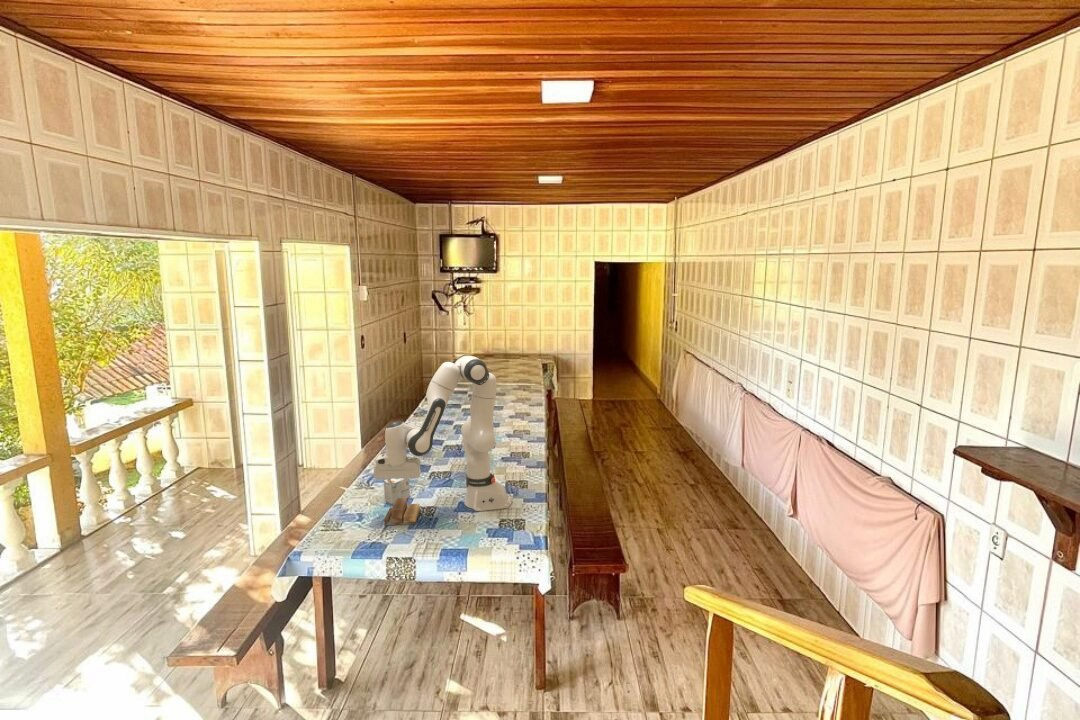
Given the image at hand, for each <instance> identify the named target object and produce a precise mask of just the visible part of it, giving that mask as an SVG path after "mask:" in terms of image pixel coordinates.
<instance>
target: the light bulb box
mask: <svg viewBox="0 0 1080 720" xmlns="http://www.w3.org/2000/svg"><path fill="white" fill-rule="evenodd" d="M391 481H392V483H394V488H390V484H389V482H388V481H387V479H383V490H384V491H383V492H384V502H387V503H389V504H391V505H394V503H395V501H396V499H397V498H407V499H409V498H411V493H410V492H411V491H410V490H411V489H410V478H408V480H407V482H406V487H402V482H405V480H404V478H398V479H391Z"/></svg>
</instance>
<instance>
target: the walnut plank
mask: <svg viewBox="0 0 1080 720" xmlns="http://www.w3.org/2000/svg"><path fill="white" fill-rule="evenodd" d="M392 505H393V506H392V507H393V508H392V510H391V513H392V523H402V522H403V520H404V514H405V511H406V509H407V506H408V498H397V499H396V501H395V503H394V504H392Z"/></svg>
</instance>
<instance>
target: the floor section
mask: <svg viewBox="0 0 1080 720" xmlns="http://www.w3.org/2000/svg"><path fill="white" fill-rule="evenodd" d="M420 507H421V506H420V503H407V509H406V511H405V514H404V520H403V522H402V523H392V513H391V510H392V508H393V506H391V507H389V508H388V511H387V513H386V515H385V517H384V519H383V521H384V522H383V525H386V526H387V527H388V526H416V523H417V522H418V521H417V520H418V518H419V515H420V512H421V509H420Z"/></svg>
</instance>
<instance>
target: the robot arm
mask: <svg viewBox="0 0 1080 720" xmlns="http://www.w3.org/2000/svg"><path fill="white" fill-rule="evenodd" d="M462 380H466V381H468V382H470V383H472V392H471V400H470V406H469V415H470V419H469V420H467V421H465V422H464V423H463V424H462V426H461V429H460V433H461V436H462V441H463V449H464V454H465V459H466V474H465V475H466V476H465V485H466V486H465V487H466V492H465V497H464V502H463V503H464V505H465V507H467V508H469V509H471V510H474V511H476V512H483V511H484V512H486V511H494V510H500V509H501V510H502V509H503V510H504V509H508V508H509V507H510V506H511V504H512V497H511V495H509V494H508V493H507V491H506V488H505V487H504V485H502V484H500V483H499V482H497V481H496V479H495V474H494V473H492V472H491V457H490V455H489V452H491V451H492V450H493V449H494V448H495V445H496V438H495V431H494V430H495V428H494V412H495V404H496V398H497V397H496V396H497V386H498V383H497V377H496V375H494V374H493V373H491V372H489V370H488V367H487V365H486V363H485V362H484V361H483V360H482V359H480V358H479V357H476V356H473V355H470V354H462V355H460V356H459V357H458V358H456V359H455V360H454V361H445V362H442V363H441V365H440V366H439V367H438V369H437V370H436V371H435V373H434V374H433V376H432V378H431V380H430V382H429V384H428V386H427V390H426V394H425V395H426V401H427V413H426V415H425V417H424V419H423V422H422V423H421V425H420V426H419V425H412V424H408V423H405V422H404V421H402V420H395V421H391V422H390V423H388V424H387V425H386V428H385V431H384V432H385V433H384V440H385V446H386V448H385V453H381V454H379V455H378V456H377V457H376V459H375V464H374V467H373V477H374V479H375V480H382V479H383V480H387V481H388V482H389V484H390V488H394V483H392V481H391V479H398V478H404V480H405V482H402V487H406V482H407V480H408V478H409V479H418V478H420V477H421V474H422V473H421V465H422V464H421V459H420V458H418V457H423V456H425V455H427V454H428V453H430V452H431V451H432V448H433V443H434V435H435V433H436V430H437V428H438V426H439V423H440V421H441V419H442V417H443V415H444V412H445V410H446V407H447V404H448V403H449V401H450V399H451V397H452V395H453V393H454V391H455V389H456V387H457V385H458V384H459V383H460V382H461V381H462ZM407 450H409V452H410V453H411V455H413V456H414V457H409V456H408V455H407Z"/></svg>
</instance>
